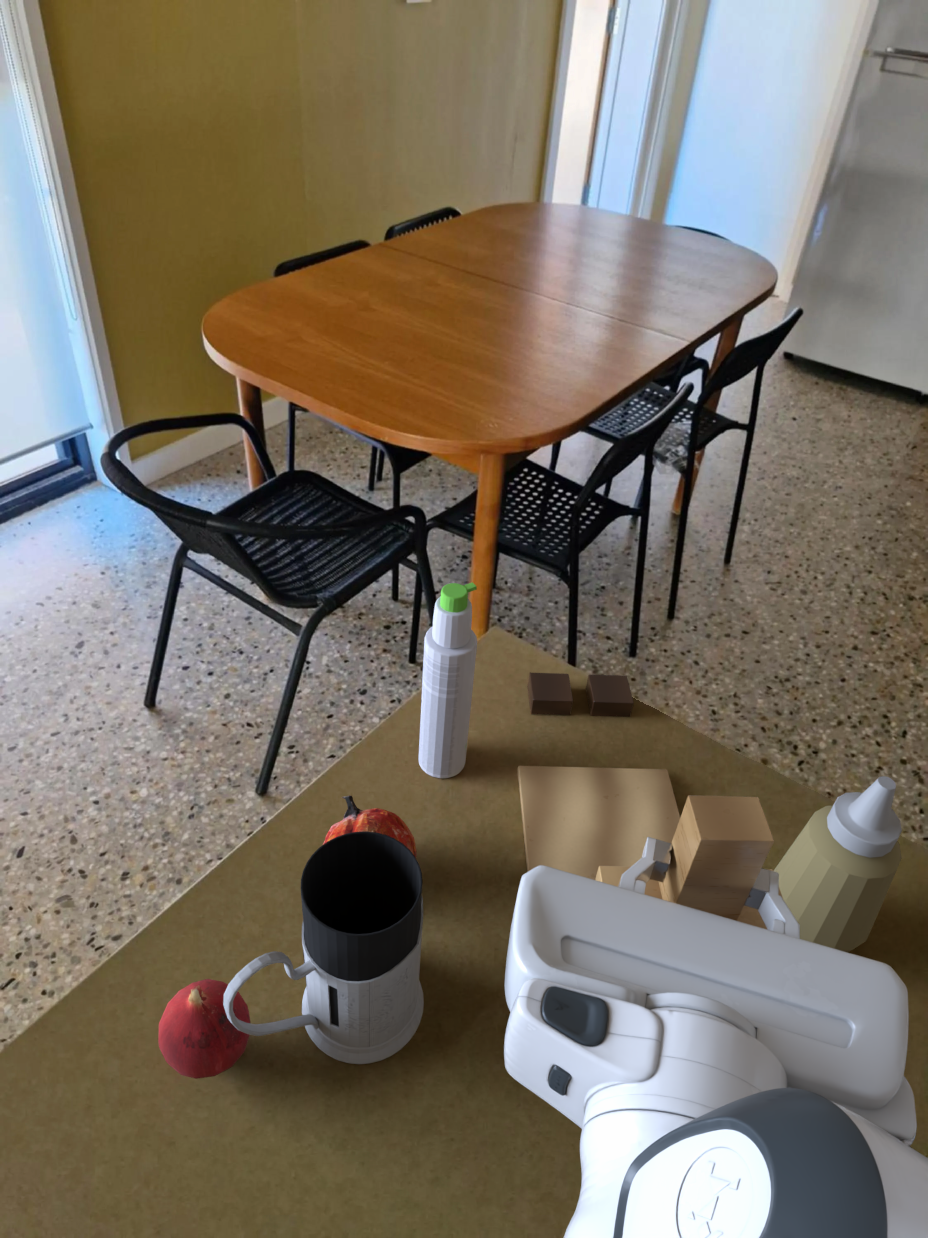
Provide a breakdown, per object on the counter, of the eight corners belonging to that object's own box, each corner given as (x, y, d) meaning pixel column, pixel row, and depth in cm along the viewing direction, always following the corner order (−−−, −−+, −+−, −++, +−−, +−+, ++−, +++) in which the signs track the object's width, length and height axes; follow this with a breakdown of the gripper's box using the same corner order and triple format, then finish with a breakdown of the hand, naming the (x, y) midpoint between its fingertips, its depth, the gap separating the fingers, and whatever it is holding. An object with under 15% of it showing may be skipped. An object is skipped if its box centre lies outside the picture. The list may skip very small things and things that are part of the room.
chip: (565, 687, 91) (568, 673, 90) (570, 715, 88) (573, 701, 87) (527, 686, 91) (529, 672, 90) (530, 714, 88) (532, 700, 87)
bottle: (470, 775, 81) (488, 604, 69) (423, 782, 80) (433, 610, 68) (459, 741, 85) (474, 571, 72) (414, 746, 84) (422, 576, 71)
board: (665, 774, 83) (667, 769, 83) (719, 976, 68) (721, 971, 67) (517, 771, 82) (518, 765, 82) (537, 974, 67) (538, 969, 66)
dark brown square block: (623, 689, 92) (627, 675, 91) (630, 717, 89) (633, 703, 88) (585, 688, 92) (588, 674, 90) (590, 716, 89) (593, 701, 87)
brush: (759, 896, 57) (813, 784, 50) (783, 969, 53) (845, 858, 46) (590, 893, 56) (622, 779, 49) (602, 967, 53) (638, 854, 46)
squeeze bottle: (733, 923, 71) (802, 775, 60) (788, 869, 76) (862, 722, 64) (822, 998, 67) (915, 853, 55) (875, 936, 71) (971, 790, 60)
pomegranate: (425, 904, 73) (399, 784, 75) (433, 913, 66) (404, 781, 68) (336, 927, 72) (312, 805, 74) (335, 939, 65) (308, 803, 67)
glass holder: (448, 1010, 64) (461, 890, 55) (278, 1148, 56) (260, 1036, 47) (375, 925, 69) (376, 801, 60) (210, 1042, 61) (180, 921, 52)
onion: (272, 1041, 62) (263, 982, 57) (214, 1116, 58) (199, 1060, 53) (209, 998, 64) (195, 937, 59) (148, 1068, 60) (128, 1008, 55)
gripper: (950, 1144, 37) (916, 878, 48) (484, 996, 41) (547, 779, 52) (894, 1198, 41) (874, 942, 52) (473, 1059, 45) (534, 845, 56)
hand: (708, 860), depth 52 cm, fingers closed on brush, 5 cm apart
